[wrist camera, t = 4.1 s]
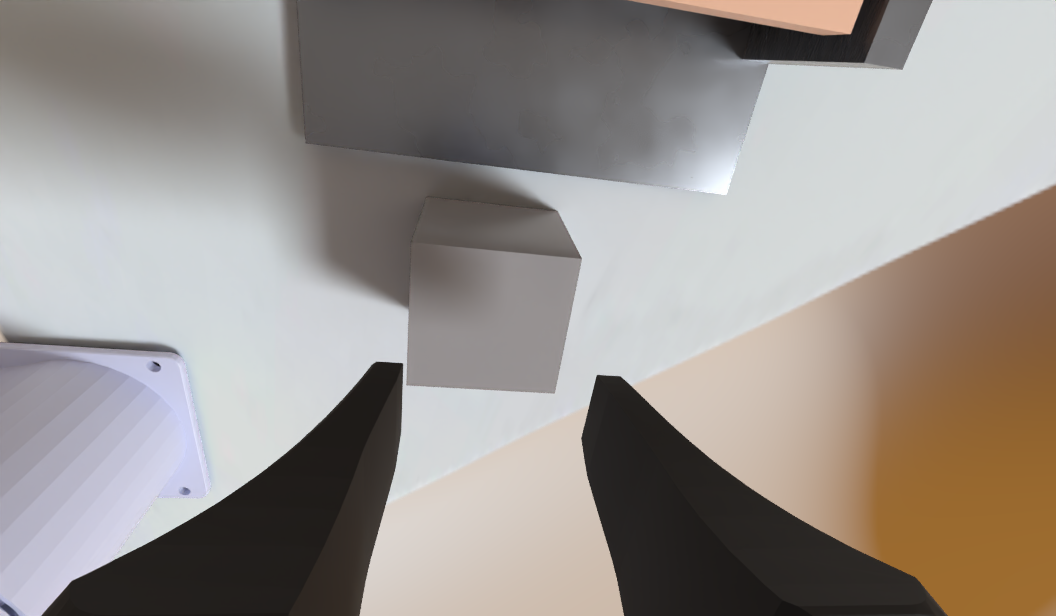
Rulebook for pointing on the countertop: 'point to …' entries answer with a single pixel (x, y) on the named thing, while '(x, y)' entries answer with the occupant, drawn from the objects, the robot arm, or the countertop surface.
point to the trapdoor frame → (563, 81)
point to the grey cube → (489, 296)
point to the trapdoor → (778, 12)
